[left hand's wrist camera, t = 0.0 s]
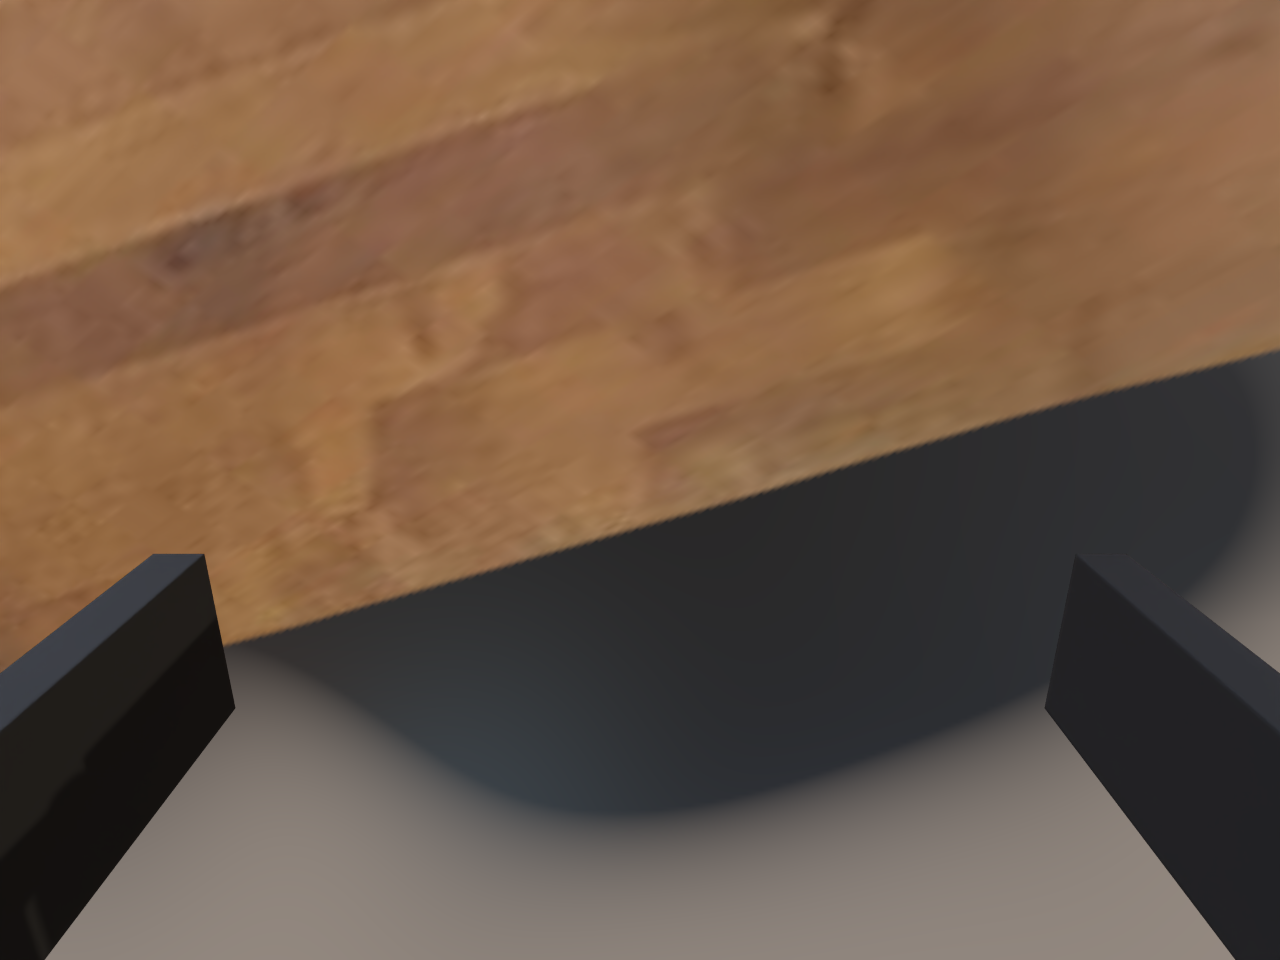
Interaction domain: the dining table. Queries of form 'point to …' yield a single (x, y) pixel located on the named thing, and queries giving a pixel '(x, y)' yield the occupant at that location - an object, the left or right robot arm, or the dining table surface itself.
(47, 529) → the dining table surface
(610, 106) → the dining table surface
